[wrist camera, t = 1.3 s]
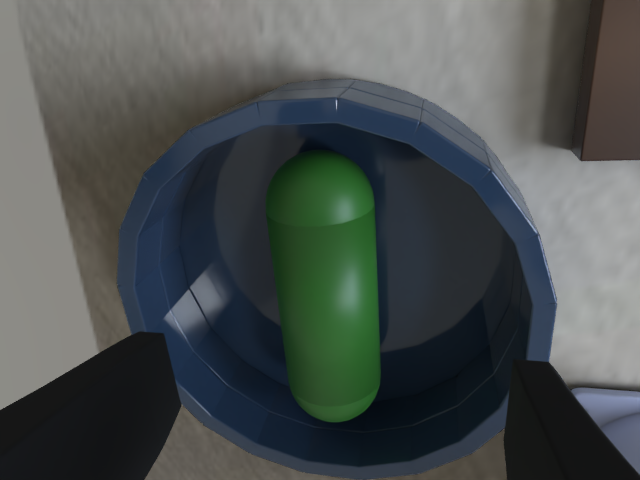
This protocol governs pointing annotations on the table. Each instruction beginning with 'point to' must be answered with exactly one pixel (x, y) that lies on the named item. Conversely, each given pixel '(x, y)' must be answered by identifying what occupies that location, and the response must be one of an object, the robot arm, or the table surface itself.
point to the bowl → (392, 274)
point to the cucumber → (326, 282)
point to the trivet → (610, 84)
